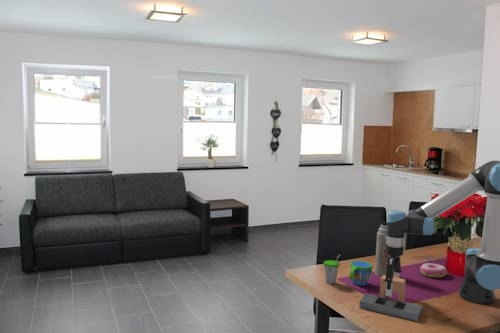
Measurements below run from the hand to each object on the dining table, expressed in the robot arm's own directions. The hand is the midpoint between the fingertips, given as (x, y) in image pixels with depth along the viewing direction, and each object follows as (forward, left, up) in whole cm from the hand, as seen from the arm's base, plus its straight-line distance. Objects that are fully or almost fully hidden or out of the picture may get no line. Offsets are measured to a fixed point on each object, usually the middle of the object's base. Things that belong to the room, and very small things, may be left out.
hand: (392, 290), depth 204 cm
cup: (+31, -5, -4) cm, 32 cm away
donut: (-11, -47, -5) cm, 49 cm away
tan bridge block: (0, 0, -4) cm, 4 cm away
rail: (-2, +11, -4) cm, 12 cm away
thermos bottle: (+12, -32, -4) cm, 34 cm away
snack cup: (+18, -12, -4) cm, 22 cm away
